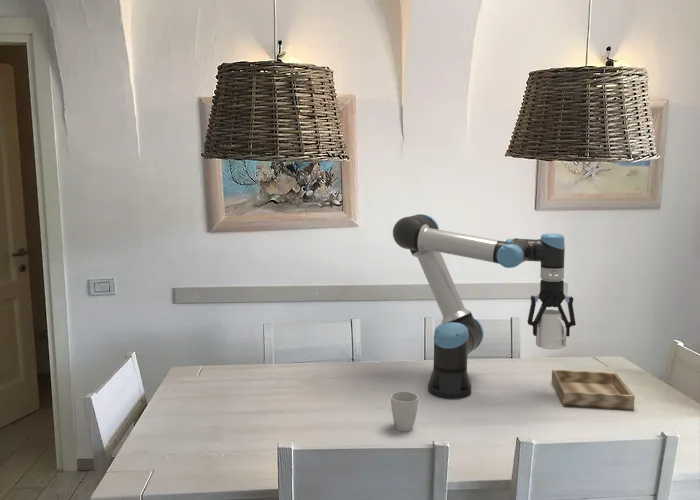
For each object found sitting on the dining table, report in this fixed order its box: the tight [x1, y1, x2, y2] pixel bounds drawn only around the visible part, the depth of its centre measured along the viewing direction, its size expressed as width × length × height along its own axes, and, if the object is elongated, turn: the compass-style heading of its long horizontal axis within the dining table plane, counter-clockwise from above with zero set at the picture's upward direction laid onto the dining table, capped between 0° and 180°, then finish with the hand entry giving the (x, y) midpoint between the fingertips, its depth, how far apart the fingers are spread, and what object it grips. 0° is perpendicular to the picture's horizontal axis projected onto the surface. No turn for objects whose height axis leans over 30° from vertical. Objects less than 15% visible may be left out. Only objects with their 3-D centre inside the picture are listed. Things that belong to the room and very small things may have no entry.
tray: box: [550, 369, 636, 412], centre depth 209 cm, size 22×22×5 cm
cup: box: [390, 390, 419, 432], centre depth 183 cm, size 8×8×10 cm
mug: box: [537, 308, 566, 350], centre depth 206 cm, size 12×8×12 cm
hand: (550, 345), depth 207 cm, fingers closed on mug, 8 cm apart
